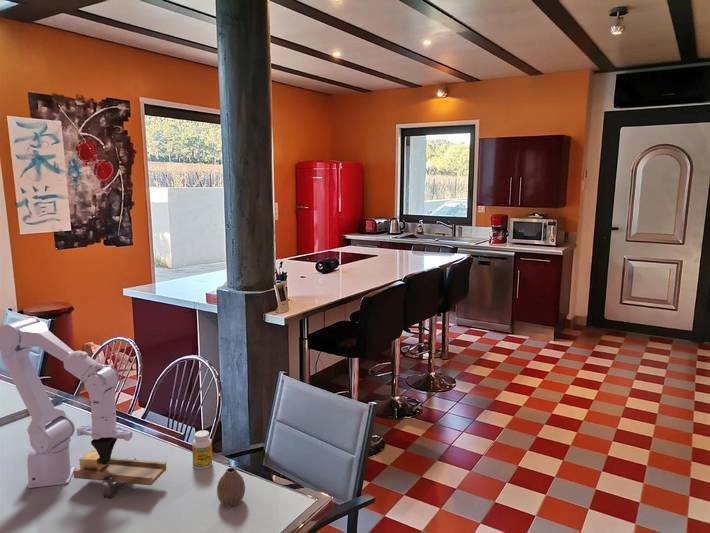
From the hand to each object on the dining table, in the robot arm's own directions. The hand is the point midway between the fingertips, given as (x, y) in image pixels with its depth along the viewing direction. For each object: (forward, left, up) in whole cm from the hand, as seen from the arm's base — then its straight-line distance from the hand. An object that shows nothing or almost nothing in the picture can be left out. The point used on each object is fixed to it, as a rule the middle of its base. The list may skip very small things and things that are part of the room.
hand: (106, 462), depth 135 cm
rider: (-3, +1, -2) cm, 4 cm away
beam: (+3, -2, -2) cm, 4 cm away
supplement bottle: (+24, +4, -6) cm, 25 cm away
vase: (+31, -16, -6) cm, 36 cm away
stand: (+3, -2, -6) cm, 7 cm away
